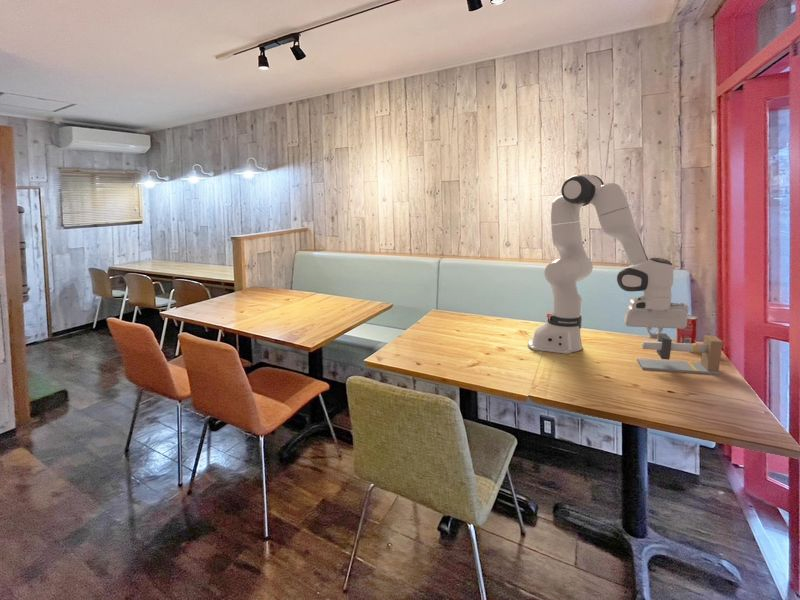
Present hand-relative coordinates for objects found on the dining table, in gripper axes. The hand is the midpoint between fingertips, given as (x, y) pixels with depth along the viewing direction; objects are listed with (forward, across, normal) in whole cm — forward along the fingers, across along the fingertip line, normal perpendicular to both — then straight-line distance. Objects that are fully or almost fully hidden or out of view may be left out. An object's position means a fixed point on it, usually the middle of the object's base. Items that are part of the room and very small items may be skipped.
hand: (653, 338), depth 166 cm
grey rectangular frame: (+7, -4, 0) cm, 8 cm away
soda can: (+11, -18, -25) cm, 33 cm away
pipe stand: (+11, -8, 0) cm, 14 cm away
